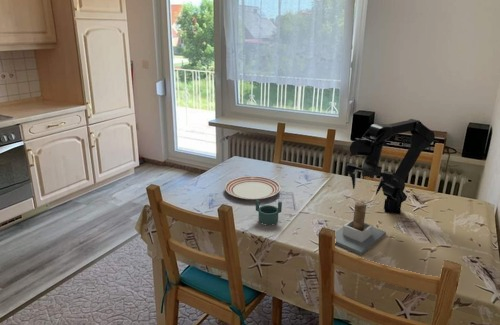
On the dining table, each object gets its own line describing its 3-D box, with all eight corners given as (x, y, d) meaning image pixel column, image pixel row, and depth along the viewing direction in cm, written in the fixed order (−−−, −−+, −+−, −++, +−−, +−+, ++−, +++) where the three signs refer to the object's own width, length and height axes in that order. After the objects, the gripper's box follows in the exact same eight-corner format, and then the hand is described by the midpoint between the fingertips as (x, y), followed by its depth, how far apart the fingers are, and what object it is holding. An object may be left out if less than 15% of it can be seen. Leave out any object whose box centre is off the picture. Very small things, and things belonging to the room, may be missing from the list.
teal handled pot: (283, 222, 150) (283, 202, 148) (264, 227, 146) (265, 207, 143) (270, 213, 158) (271, 194, 155) (252, 218, 153) (253, 199, 150)
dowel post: (359, 231, 141) (363, 202, 137) (364, 236, 137) (368, 207, 133) (349, 232, 140) (353, 203, 136) (354, 237, 136) (358, 207, 132)
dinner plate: (272, 207, 163) (272, 201, 162) (216, 199, 171) (216, 192, 170) (285, 185, 188) (286, 179, 187) (236, 179, 196) (236, 173, 195)
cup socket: (353, 222, 150) (354, 211, 149) (385, 234, 141) (387, 222, 140) (326, 240, 137) (328, 228, 135) (361, 255, 128) (362, 242, 126)
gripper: (346, 154, 143) (339, 191, 147) (396, 165, 136) (387, 203, 141) (350, 149, 153) (343, 184, 157) (397, 159, 146) (388, 194, 151)
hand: (364, 191), depth 151 cm, fingers open, 9 cm apart
